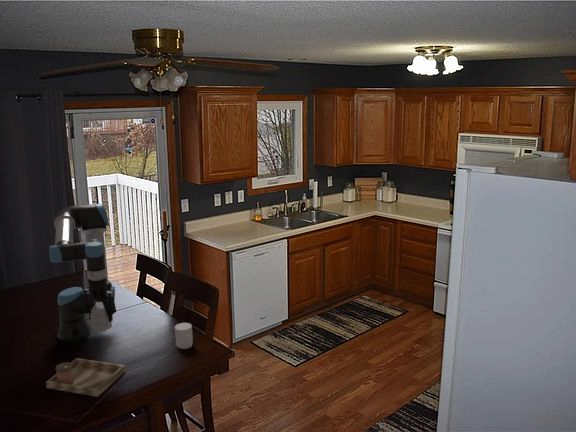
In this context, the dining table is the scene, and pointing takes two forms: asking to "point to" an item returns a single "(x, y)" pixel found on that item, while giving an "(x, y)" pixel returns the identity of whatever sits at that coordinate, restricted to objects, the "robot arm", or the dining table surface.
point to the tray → (89, 377)
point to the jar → (65, 373)
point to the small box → (99, 317)
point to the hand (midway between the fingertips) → (101, 326)
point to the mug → (183, 335)
